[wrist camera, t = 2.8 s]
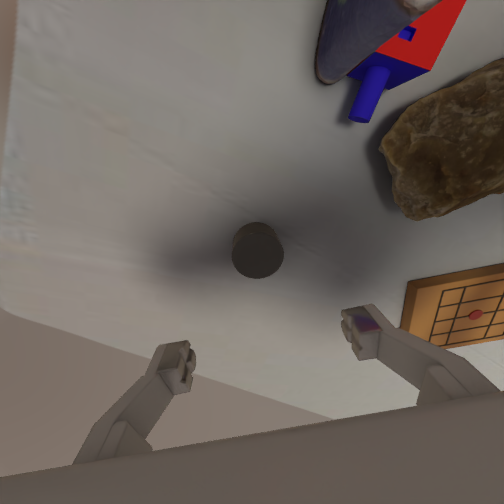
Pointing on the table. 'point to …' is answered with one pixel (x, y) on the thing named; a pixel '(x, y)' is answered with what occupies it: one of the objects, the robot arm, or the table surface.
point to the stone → (449, 146)
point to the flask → (360, 31)
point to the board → (457, 307)
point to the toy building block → (403, 57)
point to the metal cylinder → (257, 250)
